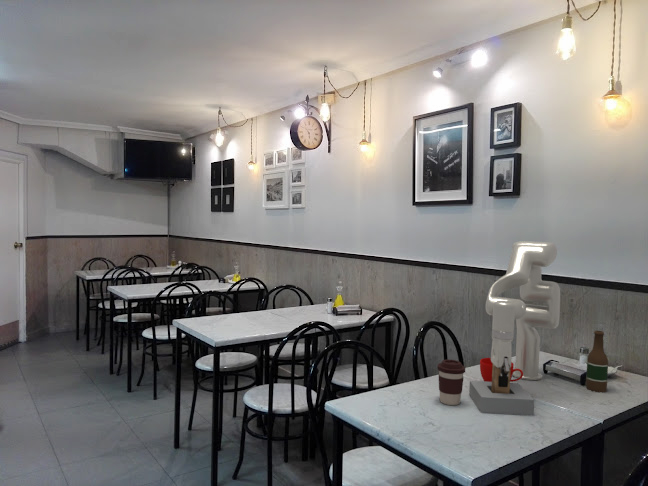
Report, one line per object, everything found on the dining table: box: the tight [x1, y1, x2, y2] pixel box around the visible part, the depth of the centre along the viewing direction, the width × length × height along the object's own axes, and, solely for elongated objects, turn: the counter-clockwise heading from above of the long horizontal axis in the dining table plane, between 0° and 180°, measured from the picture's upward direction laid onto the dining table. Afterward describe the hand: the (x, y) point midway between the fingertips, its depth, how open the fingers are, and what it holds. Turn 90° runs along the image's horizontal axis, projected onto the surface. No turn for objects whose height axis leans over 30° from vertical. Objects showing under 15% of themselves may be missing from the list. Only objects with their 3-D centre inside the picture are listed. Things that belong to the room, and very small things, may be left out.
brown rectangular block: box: [491, 363, 511, 394], centre depth 181 cm, size 5×5×14 cm
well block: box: [468, 380, 535, 416], centre depth 181 cm, size 18×18×6 cm
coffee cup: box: [436, 359, 466, 406], centre depth 182 cm, size 10×10×15 cm
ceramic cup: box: [479, 357, 523, 383], centre depth 201 cm, size 13×17×10 cm
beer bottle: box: [585, 330, 609, 393], centre depth 201 cm, size 8×8×24 cm
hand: (500, 383), depth 181 cm, fingers closed on brown rectangular block, 4 cm apart
